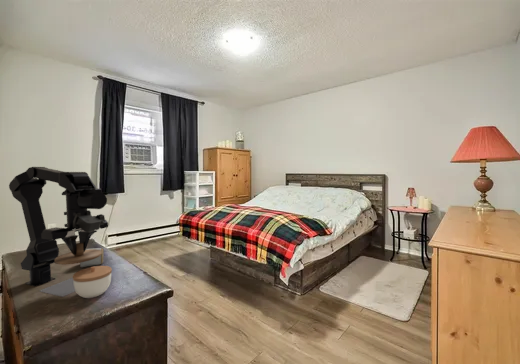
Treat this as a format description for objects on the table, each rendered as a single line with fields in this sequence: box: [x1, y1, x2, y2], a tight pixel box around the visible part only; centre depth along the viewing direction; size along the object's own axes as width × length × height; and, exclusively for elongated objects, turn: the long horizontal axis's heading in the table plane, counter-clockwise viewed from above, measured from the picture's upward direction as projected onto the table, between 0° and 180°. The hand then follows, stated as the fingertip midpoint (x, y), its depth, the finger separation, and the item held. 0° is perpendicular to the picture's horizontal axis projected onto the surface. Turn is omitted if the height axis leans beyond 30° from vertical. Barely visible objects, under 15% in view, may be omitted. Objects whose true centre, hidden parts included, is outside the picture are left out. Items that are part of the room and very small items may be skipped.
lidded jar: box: [72, 265, 113, 299], centre depth 81 cm, size 11×11×9 cm
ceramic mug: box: [80, 247, 104, 268], centre depth 108 cm, size 11×8×8 cm
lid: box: [54, 242, 102, 266], centre depth 84 cm, size 13×13×5 cm
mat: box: [39, 277, 76, 298], centre depth 86 cm, size 12×12×1 cm
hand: (78, 253), depth 84 cm, fingers closed on lid, 3 cm apart
